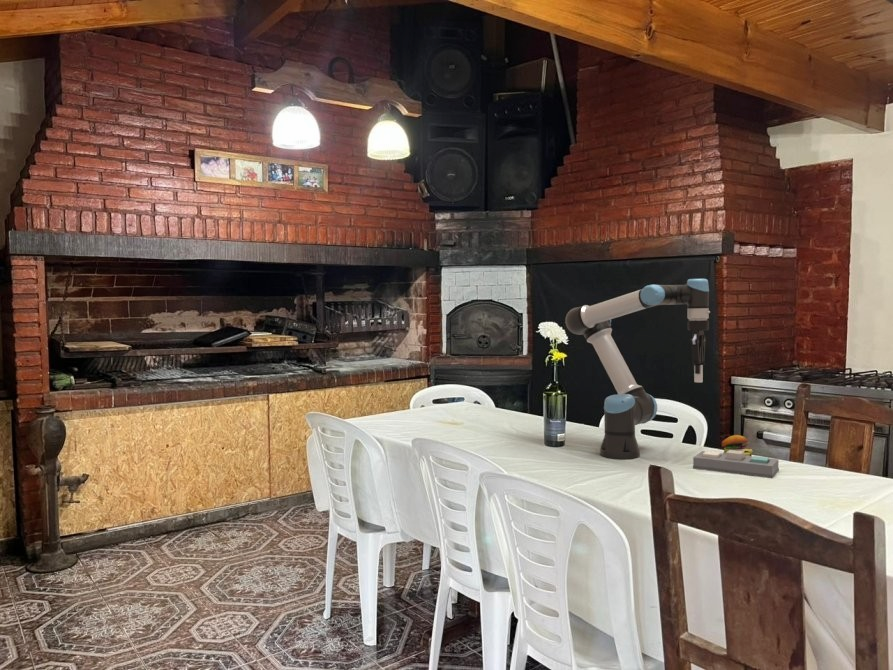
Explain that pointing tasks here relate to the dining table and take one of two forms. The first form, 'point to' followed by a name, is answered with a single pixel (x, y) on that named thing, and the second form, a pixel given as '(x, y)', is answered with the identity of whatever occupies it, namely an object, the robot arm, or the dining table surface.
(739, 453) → the key grey
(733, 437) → the cheeseburger
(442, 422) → the dining table surface
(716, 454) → the key ivory
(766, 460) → the key teal
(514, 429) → the dining table surface
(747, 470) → the keypad base
